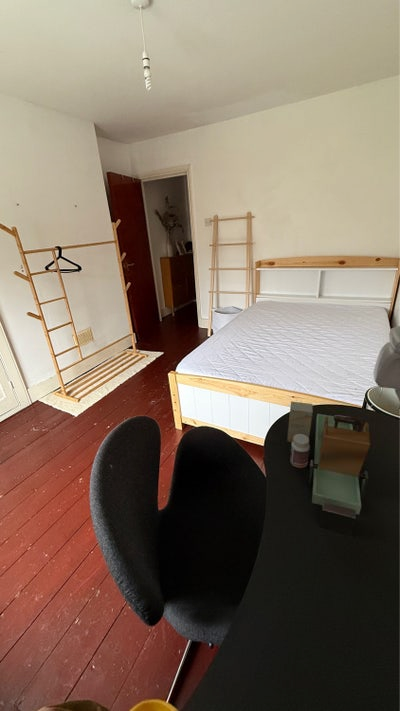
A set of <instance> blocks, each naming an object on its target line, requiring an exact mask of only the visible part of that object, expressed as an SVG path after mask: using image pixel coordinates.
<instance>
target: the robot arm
mask: <svg viewBox="0 0 400 711" xmlns="http://www.w3.org/2000/svg"><path fill="white" fill-rule="evenodd" d="M388 339H389V341H388V342H386V343H385V344H384V345H383V346H382V347H381V349H380V351H379V353H378V356H377V358H376V360H375V364H374V367H373V380H374V382H375V384H376V385H377V386H378V387H380V388H385V389H393V390H394V391H395V395H396V397H397V401H396V403H397V405H396V406H397V409H398V410H400V325H398V326H394V327H392V328H391V329H390V330H389V333H388Z"/></svg>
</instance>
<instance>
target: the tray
mask: <svg viewBox="0 0 400 711" xmlns="http://www.w3.org/2000/svg"><path fill="white" fill-rule="evenodd" d="M326 416H327V417H328V426H332V427H334V424H335V420H334V416H335V415H326V414H321V413H316V419H315V434H314V435H315V436H314V454H313V463H315V464H318V469H315V468H313V472H312V476H313V477H312V495H311V503H312V504H317V505H318V506H322V504H323V502H325V503H329V504H333V505H337V506H341V507H345V508H349V509H353V510H355V512H356V515H358V516H359V515H360V513H361V510H362V501H361V500H362V499H361V497H360V490H361V488H360V481H359V476H358V477H355V476H350V475H345V474H341V473H336V472H331V471H327V470H322V469H319V455H320V445H321V440H322V432H323V428H324V423H325V417H326ZM353 426H354V425H353V424H348V423H341V422H338V426H337V427H338V428H344V429H350V430H354V428H353Z"/></svg>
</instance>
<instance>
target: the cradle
mask: <svg viewBox="0 0 400 711" xmlns="http://www.w3.org/2000/svg"><path fill="white" fill-rule="evenodd" d="M314 468H315V469H318V464H315V463H314V459H311V460H310V464H309V472H308V479H307V480H308V481H307V487H308V488H311V481H312V476H313V469H314ZM368 475H369V473H368V471H367V470H365V471H364V473H363V472H360V473H359V476H358V479H362V483H361V487H360V499H361V500H364V497H365V494H366V489H367V485H368V482H369V481H368V480H369V476H368ZM356 521H357V514H356V512H355V510H353V509H349V508H345V507H341V506H337V505H333V504H329V503H325V502H323V504H322V505H321V512H320V516H319V528H320V529H324V530H328V531H331V532H334V533H339V534H342V535H346V536H350V537H352V536H353V533H354V529H355V525H356Z"/></svg>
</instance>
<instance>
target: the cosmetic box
mask: <svg viewBox="0 0 400 711" xmlns="http://www.w3.org/2000/svg"><path fill="white" fill-rule="evenodd" d="M313 409H314V404H312V403H307V402H300V401H299V402H298V401H292V400H291V401H290V409H289V418H288V419H289V420H288V428H287V439H286V441H287V442H288V443H292V442H293V437H294V436H295V435H296V434H304V435H306V436H307V437H308V438H309V439H310V433H311V427H312V421H313V420H312V419H313V411H314V410H313Z"/></svg>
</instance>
